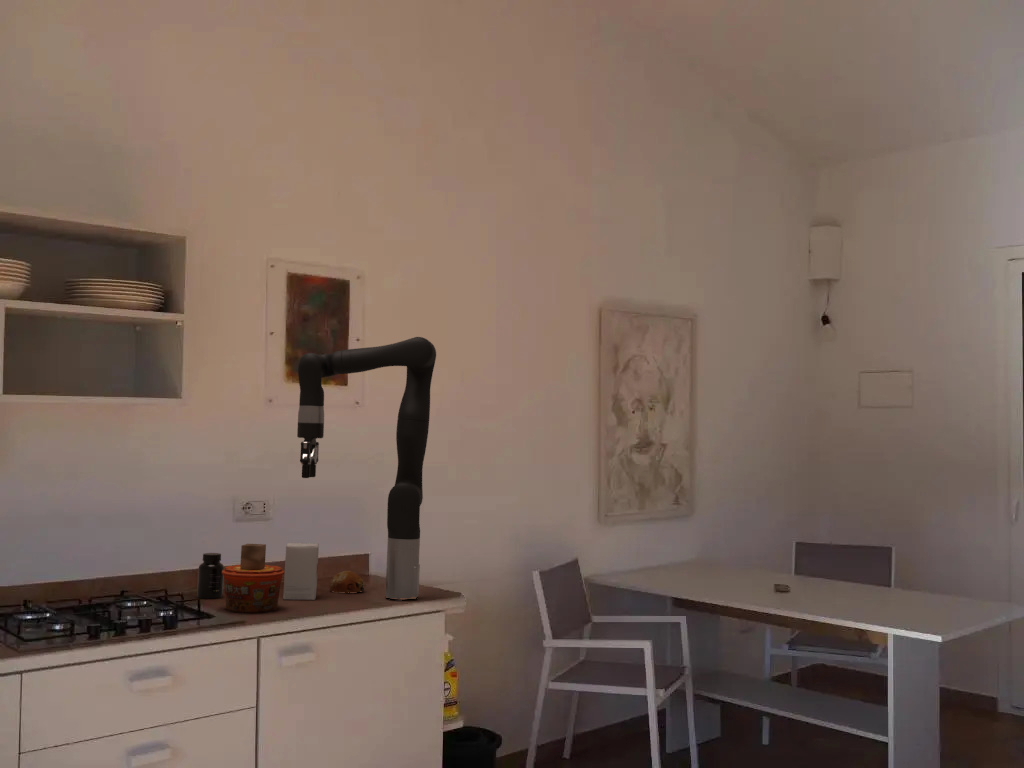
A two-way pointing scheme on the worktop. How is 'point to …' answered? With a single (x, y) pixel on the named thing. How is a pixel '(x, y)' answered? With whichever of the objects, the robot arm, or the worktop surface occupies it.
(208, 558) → the supplement bottle
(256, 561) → the walnut block
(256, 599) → the food container
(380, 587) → the worktop surface
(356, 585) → the bread roll
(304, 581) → the supplement box
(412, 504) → the robot arm
